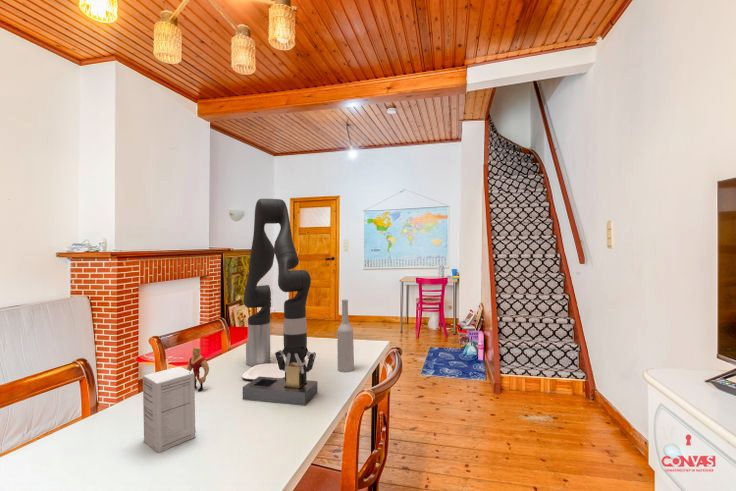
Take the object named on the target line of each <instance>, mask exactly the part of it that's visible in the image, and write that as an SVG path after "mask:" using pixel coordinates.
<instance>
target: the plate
mask: <svg viewBox="0 0 736 491" xmlns="http://www.w3.org/2000/svg"><path fill="white" fill-rule="evenodd" d="M259 376H260V377H272V378H284V379H285V372H284V371H283V370H280V369H279V366H278V363H269V364H259V365H256V366H251V367H250V368H248V369H247V370H246V371H245V372H244V373H243V374H242V375H241V377H242V379H245V380H247V381H249V380H250V381H253V380H254V379H256V378H257V377H259Z"/></svg>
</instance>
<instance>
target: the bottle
mask: <svg viewBox="0 0 736 491" xmlns="http://www.w3.org/2000/svg"><path fill="white" fill-rule="evenodd" d="M340 301H341V322H340V323H341V324H340V325H339V327H338V328H337V332H336V335H337V338H336V339H337V340H336V341H337V371H339V372H340V373H342V372H343V373H348V372H353V371H354V370H355V358H354V357H355V355H354V354H355V353H354V352H355V350H354V347H355V346H354V329H353V326H352V325H351V324H350V323H349V322H350V321H349V299H341V300H340Z"/></svg>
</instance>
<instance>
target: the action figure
mask: <svg viewBox="0 0 736 491" xmlns="http://www.w3.org/2000/svg"><path fill="white" fill-rule="evenodd" d="M201 368H202V369H203V370H204V374H203V376H201V377H200V373H201V372H200V369H201ZM186 370H189V371H191V372H193V373H194V387H195V389H196V388H197V387H198V386H197V382H198V383H199V385H200V386H199V388H198V390H197V392H201V391H202V390H204V384H203V383H205V382H206V379H207V376H208V374H209V371H210V367H209V364H208V361H207V359H205V357H203V356H202V355H201V348H200V347H197V346H194V347H193V348H192V357H190V358H189V359H188V361H187V367H186Z"/></svg>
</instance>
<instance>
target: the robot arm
mask: <svg viewBox="0 0 736 491" xmlns="http://www.w3.org/2000/svg"><path fill="white" fill-rule="evenodd" d="M255 203H256V204H255V208H254V218H253V219H254V221H253V222H254V223H253V235H252V242H251V250H250V255H249V264H248V272H247V273H248V274H247V279H246V283H245V288H244V292H243V293H244V294H243V304H244V307H246V308H248V309H250V308H251V309H255V308H256V309H257V308H260V310H258V311H257V312H256V313H254V314H252V315H250V316H249V317H247V341H246V342H245V365H247V366H250V367H253V366H256V365H259V364H271V363H272V361H271V359H272V358H271V354H272V353H271V306H272V305H271V302H272V300H271V299H272V292H271V288H270V287H269V285H258V283H259V282H260V281H261V280H262V279H263V278H264V277H265V276H266V275H267V274H268V273H269V271H270V270H271V269H272V267H273V265H274V262H275V261H274V258H275V259H276V262H277V267H278V268H277V270H278V272H277V273H278V274H277V286H278V288H279V289H280V291H281V292H284V293H294V292H296V294H295V296H293V297H291V298H288V299H287V300H284V302H283V316H284V317H283V329H282V330H283V349H282V350H278V351H276V352H275V354H274V355H275V359H276V362H277V363H276V364H278V366H279V369H280V370H283V371H284V372H285V378H284V379H285V382H286V366H289V365H290V364H292V363H293V362H295V363H297V364H298V366H300V371H301V374H300V382H301V385H303V384H305V382H306V380H307V376H308V375H307V373H309V372H310V371H312V370H313V367H314V363H315V359H316V355H317V353H316V352H314V351H313V352H311V351H309V349H308V346H307V345H308V325H307V310H306V309H307V308H306V306H307V299H308V295H309V291H310V288H311V282H312V279H311V275H310V273H309V272H308V271H307V270H305V269H297V270H295V268H297V267H298V265H299V264H300V263H299V262H300V261H299V260H300V259H299V256H298V253H297V249H296V247H295V244H294V240H293V236H292V230H291V229H292V228H291V222H290V221H291V220H290V216H289V211H288V210H289V209H288V206H287V204H286V202H285V200H283V199H280V198H260V199H257V201H256V202H255ZM268 224H272V225H273V224H279V226H280V230H279V231H278V234H277V237H276V239H275V241H274V243H273V242H272V241H271V240H270V239H269V237H268V235H267V233H266V231H265V225H268ZM273 244H274V245H273ZM306 356H307V359H308V361H306ZM284 357H285V358H286V359H285V358H284Z"/></svg>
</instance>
